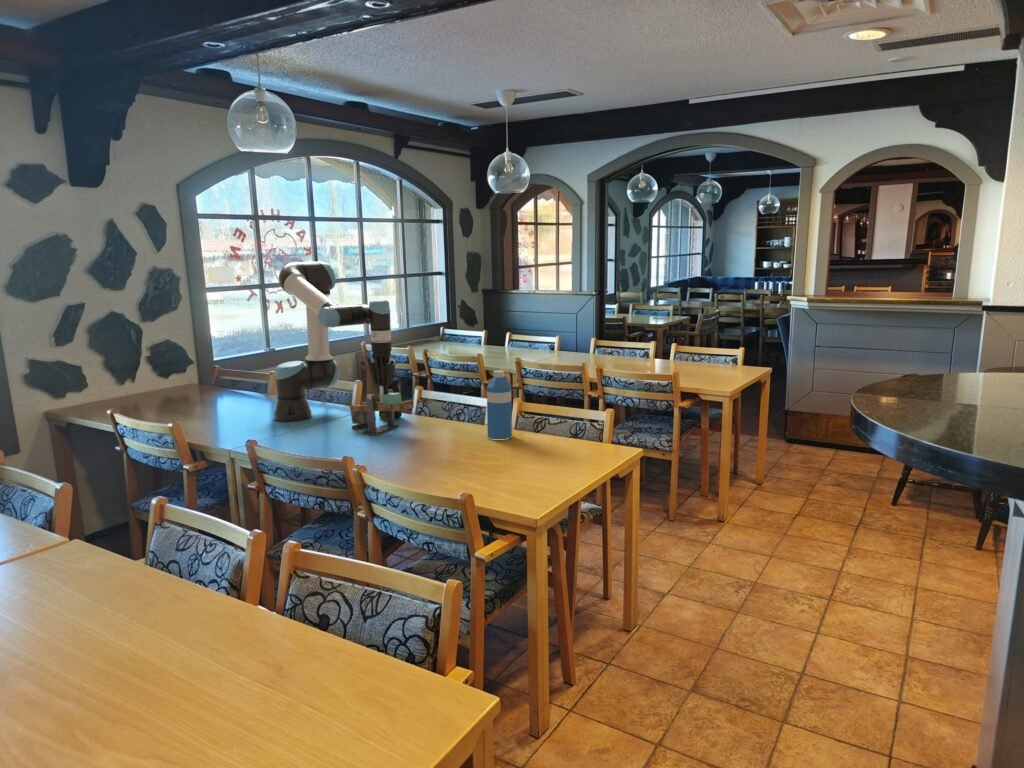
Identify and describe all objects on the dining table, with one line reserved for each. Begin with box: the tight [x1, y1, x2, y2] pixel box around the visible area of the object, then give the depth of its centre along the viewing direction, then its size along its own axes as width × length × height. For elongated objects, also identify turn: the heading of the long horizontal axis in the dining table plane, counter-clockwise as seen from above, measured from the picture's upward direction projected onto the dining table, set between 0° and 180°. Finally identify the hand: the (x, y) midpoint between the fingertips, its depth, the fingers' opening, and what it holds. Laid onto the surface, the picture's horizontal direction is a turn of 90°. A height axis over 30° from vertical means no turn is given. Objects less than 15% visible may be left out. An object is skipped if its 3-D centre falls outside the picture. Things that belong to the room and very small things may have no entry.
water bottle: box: [486, 369, 513, 439], centre depth 251 cm, size 9×9×25 cm
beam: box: [349, 393, 415, 425], centre depth 263 cm, size 26×9×12 cm, turn 60°
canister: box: [376, 376, 403, 421], centre depth 282 cm, size 10×10×18 cm
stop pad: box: [351, 423, 368, 431], centre depth 270 cm, size 3×7×1 cm, turn 150°
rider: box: [382, 393, 403, 405], centre depth 259 cm, size 6×4×5 cm, turn 60°
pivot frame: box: [363, 389, 400, 436], centre depth 263 cm, size 6×14×15 cm, turn 150°
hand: (384, 402), depth 262 cm, fingers closed
